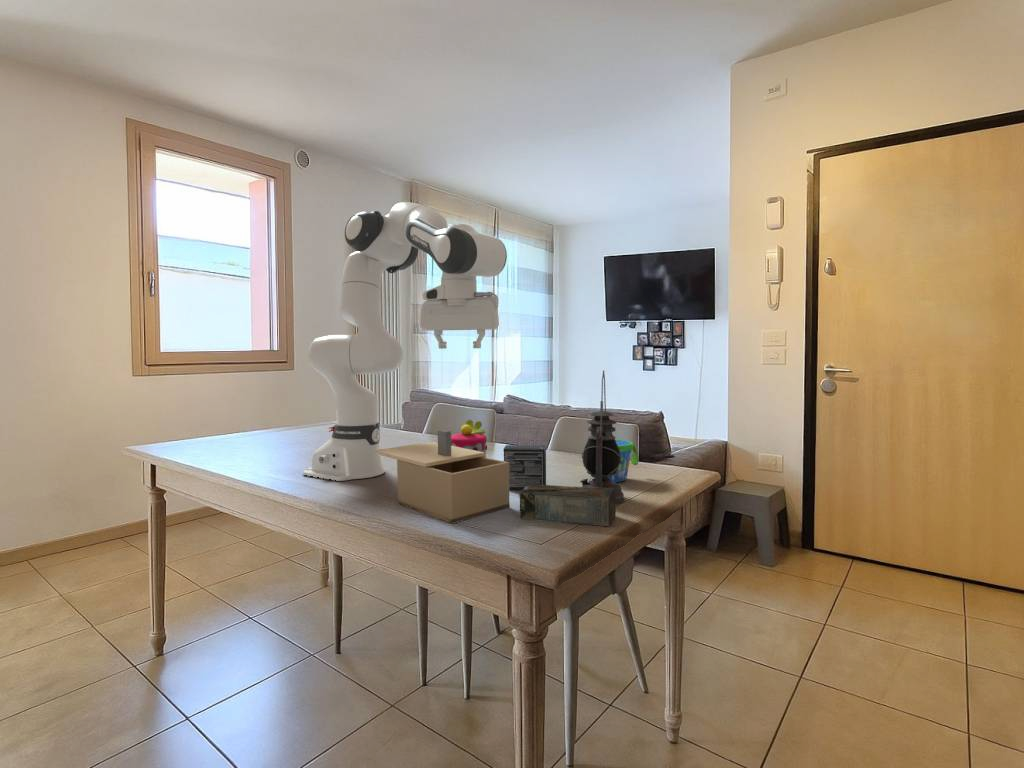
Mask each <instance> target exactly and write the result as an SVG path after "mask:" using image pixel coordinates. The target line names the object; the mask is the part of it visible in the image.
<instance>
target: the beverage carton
mask: <svg viewBox="0 0 1024 768" xmlns="http://www.w3.org/2000/svg"><path fill="white" fill-rule="evenodd" d="M519 491H520V492H519V519H521V520H522V519H523V520H530V519H531V521H533V520H534V521H540V520H541V521H540V522H542V521H543V522H551V521H552V522H553V523H555V522H556V523H564V524H574V523H575V524H576V525H577V524H578V525H587V526H588V525H589V526H599V527H608V528H609V527H611V525H612V522H613V521H614V519H615V517H616V512H617V504H616V494H615V489H607V488H603V487H592V488H590V487H582V486H570V485H569V486H567V485H566V486H564V485H555V484H554V485H552V484H549V485H548V484H546V485H540V484H529V485H528V486H527V487H525V488H524V489H523V490H519Z"/></svg>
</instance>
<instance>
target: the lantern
mask: <svg viewBox="0 0 1024 768" xmlns="http://www.w3.org/2000/svg"><path fill="white" fill-rule="evenodd" d="M605 376H606V374H605V370H602V377H601V400H600V402H599V404H600V406H599V407H600V408H599V409H600V410H599V411H592V412H591V413H589V416H591V417H594V418H592V419H590V420H587V421H586V423H587V424H590V426H588V427H587V431H588V432H590V434H589V436H587V438H588V439H587V441H586V444H585V446H584V448H583V452H582V454H581V459H582V466H583V467H584V469H585V470H586V473H587V474H588V475H590V476H591V478H590V479H588V478H584V479H583V478H582V479H581V480H580V481H579V482H580V483H581V485H582V486H581V487H590V488H592V487H603V488H607V489H615V494H616V505H619V504H622V503H624V502H625V497H624V495H625V494H624V492H622V487H621V484H619V483H618V482H611V480H610V479H608V478H611V477H612V476H613V475H615V474H616V471H617V469H618V468H619V466H620V464H621V463H622V460H621V453H620V451H619V448H618V446H617V444H616V441H615V440H616V436H614V434H613V433H614V432H616V427H613V425H616V424H617V420H613V419H611V418H610V417H613V416H615V414H614V413H612V412H609V411H607V406H606V405H607V404H606V377H605ZM603 394H604V395H603ZM603 396H604V399H603ZM603 400H604V401H603Z"/></svg>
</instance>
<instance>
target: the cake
mask: <svg viewBox="0 0 1024 768" xmlns="http://www.w3.org/2000/svg"><path fill="white" fill-rule="evenodd" d="M482 425H483V422H482V421H481V420H477V421H476V422H475V423H474V421H473V420H472V419H467V420H466V421H465V424H463V425H460V431H461V432H458V433H455V434H451V446H456V447H460V448H465V449H470V450H475V451H480V452H485V456H482V457H486V458H487V450H488V446H487V436H486V435H485V433H486V430H485V429H480V428H481V427H482Z"/></svg>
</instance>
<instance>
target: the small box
mask: <svg viewBox="0 0 1024 768" xmlns="http://www.w3.org/2000/svg"><path fill="white" fill-rule="evenodd" d="M546 447H547V446H546V445H543V444H534V445H533V444H506V445H505V446H504V447H503V461H505V462H509V491H522V490H523V489H524V488H525V487H527V486H528V485H529V484H540V485H547V448H546Z"/></svg>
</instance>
